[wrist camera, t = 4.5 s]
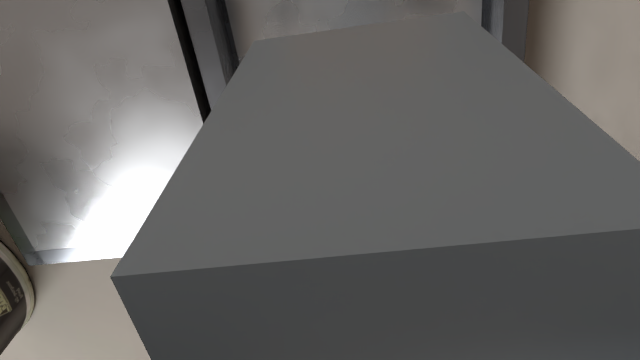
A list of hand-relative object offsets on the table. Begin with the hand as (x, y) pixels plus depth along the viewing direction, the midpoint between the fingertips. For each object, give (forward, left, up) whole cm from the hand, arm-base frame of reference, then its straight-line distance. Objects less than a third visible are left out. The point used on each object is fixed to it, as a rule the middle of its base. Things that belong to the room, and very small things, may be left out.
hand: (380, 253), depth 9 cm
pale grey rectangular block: (0, 0, -1) cm, 1 cm away
